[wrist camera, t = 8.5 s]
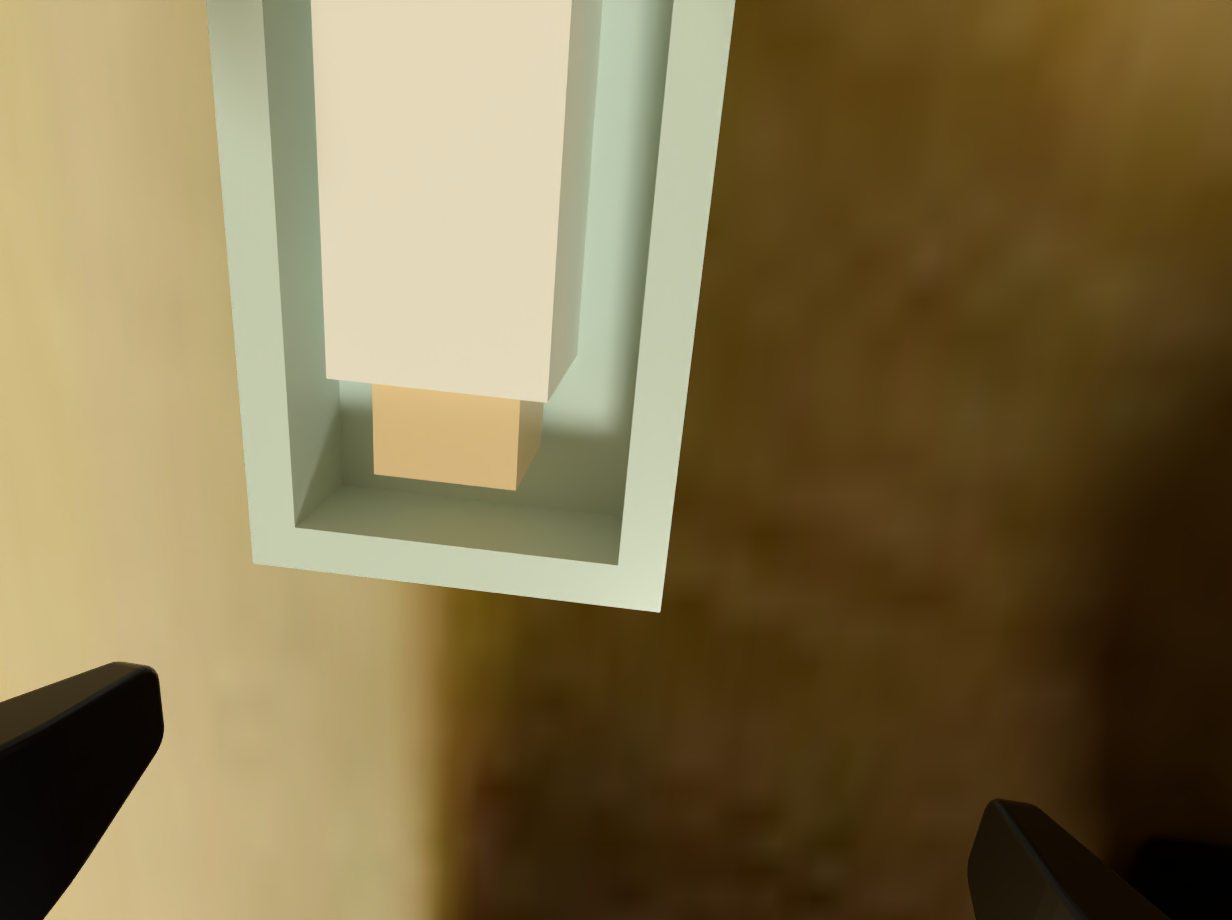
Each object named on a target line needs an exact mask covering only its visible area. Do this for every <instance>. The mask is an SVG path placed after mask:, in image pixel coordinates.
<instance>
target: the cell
mask: <svg viewBox="0 0 1232 920" xmlns="http://www.w3.org/2000/svg"><path fill="white" fill-rule="evenodd" d="M602 8H603V0H311V17H312V42H313V66H314V90H315V115H316V139H317V163H318V187H319V212H320V236H321V260H322V285H323V309H324V333H325V357H326V379H335V380H344V381H353V382H362V383H371V384H372V404H373V453H374V474H376V475H385V476H393V477H402V478H411V479H419V480H428V481H436V482H445V483H454V484H462V485H471V486H480V487H488V488H497V489H505V490H514V491H516V489H517V488H518V486H519V484H520V482H521V480H522V478H523V477H524V475H525V473H526V471H527V469H528V468H529V466H530V464H531V462H532V460H533V458H534V457H535V455H536V453H537V451H538V449H539V447H540V446H541V439H542V422H543V405H544V403H548V401H549V399H550V398H551V396H552V395H553V393H554V391H555V390H556V388H557V387H558V385H559V383H560V382H561V380H562V379H563V377H564V375H565V374H566V372H567V371H568V369H569V367H570V366H571V364H572V363H573V361H574V359H575V358H576V356H577V350H578V337H579V323H580V309H581V296H582V282H583V268H584V255H585V241H586V227H587V213H588V200H589V186H590V172H591V159H592V145H593V131H594V118H595V104H596V90H597V77H598V63H599V49H600V36H601V22H602Z"/></svg>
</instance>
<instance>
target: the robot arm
mask: <svg viewBox="0 0 1232 920" xmlns="http://www.w3.org/2000/svg"><path fill="white" fill-rule="evenodd" d="M163 733H164V721H163V712H162V703H161V694H160V685H159V678H158V674H157V673H156V671H155V670H154V669H153V668H151V667H150V666H146V665H140V664H133V663H127V662H112V663H109V664H106V665H103V666H100V667H98V668H95V669H92V670H89V671H87V672H84V673H81V674H78V675H75V676H73V677H70V678H67V679H64V680H61V681H59V682H56V683H53V684H50V685H47V686H45V687H42V688H39V689H36V690H33V691H31V692H28V693H25V694H22V695H19V696H17V697H14V698H11V699H8V700H6V701H3V702H0V920H43V919H44V918H45V917H46V915H47V914H48V913H49V911H50V910H51V909H52V908H53V906H54V905H55V904H56V902H57V901H58V900H59V898H60V897H61V896H62V894H63V893H64V892H65V890H66V889H67V888H68V886H69V885H70V884H71V882H72V881H73V879H74V878H75V877H76V875H77V874H78V872H79V871H80V869H81V868H82V866H83V865H84V864H85V862H86V861H87V859H88V858H89V856H90V855H91V853H92V851H93V850H94V848H95V847H96V845H97V844H98V842H99V841H100V839H101V838H102V836H103V834H104V833H105V831H106V830H107V828H108V827H109V825H110V824H111V822H112V821H113V819H114V818H115V816H116V814H117V813H118V811H119V810H120V808H121V807H122V805H123V804H124V802H125V801H126V799H127V797H128V796H129V794H130V793H131V791H132V790H133V788H134V787H135V785H136V784H137V782H138V780H139V779H140V777H141V776H142V774H143V773H144V771H145V770H146V768H147V767H148V765H149V764H150V762H151V760H152V759H153V757H154V756H155V754H156V753H157V751H158V749H159V747H160V744H161V742H162V738H163ZM968 883H969V889H970V894H971V898H972V903H973V908H974V913H975V917H976V920H1232V850H1231V849H1224V848H1216V847H1208V846H1201V845H1193V844H1185V843H1178V842H1170V841H1157V842H1153V843H1150V844H1149V845H1147V846H1146V847H1145V848H1144V849H1143V851H1142V852H1141V854H1140V857H1139V859H1138V861H1137V864H1136V866H1135V868H1134V871H1133V873H1132V876H1131V878H1130V880H1129V883H1127V882H1126V881H1125V880H1124V879H1123V878H1121V877H1120V876H1119V875H1118V874H1117V873H1115V872H1114V871H1113V870H1112V869H1111V868H1110V867H1108V866H1107V865H1106V864H1105V863H1104V862H1102V861H1101V860H1100V859H1099V858H1098V857H1096V856H1095V855H1094V854H1093V853H1092V852H1091V851H1089V850H1088V849H1087V848H1086V847H1085V846H1083V845H1082V844H1081V843H1080V842H1079V841H1077V840H1076V839H1075V838H1074V837H1073V836H1072V835H1070V834H1069V833H1068V832H1067V831H1066V830H1064V829H1063V828H1062V827H1061V826H1060V825H1058V824H1057V823H1056V822H1055V821H1054V820H1053V819H1051V818H1050V817H1049V816H1048V815H1047V814H1045V813H1044V812H1043V811H1042V810H1041V809H1039V808H1038V807H1037V806H1035V805H1033V804H1029V803H1024V802H1018V801H1011V800H1005V799H994V800H992V801H990V802H989V803H988V805H987V806H986V808H985V811H984V814H983V817H982V820H981V823H980V826H979V829H978V832H977V835H976V838H975V841H974V844H973V847H972V850H971V853H970V856H969V860H968Z"/></svg>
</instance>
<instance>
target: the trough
mask: <svg viewBox="0 0 1232 920" xmlns="http://www.w3.org/2000/svg"><path fill="white" fill-rule="evenodd" d="M206 7H207V19H208V31H209V43H210V55H211V67H212V78H213V90H214V102H215V114H216V126H217V138H218V150H219V162H220V174H221V185H222V197H223V209H224V221H225V233H226V245H227V257H228V269H229V281H230V293H231V304H232V316H233V328H234V340H235V352H236V364H237V376H238V388H239V400H240V411H241V423H242V435H243V447H244V459H245V471H246V483H247V495H248V507H249V519H250V530H251V542H252V554H253V563H254V564H263V565H271V566H279V567H287V568H296V569H304V570H312V571H321V572H329V573H337V574H345V575H354V576H362V577H370V578H379V579H387V580H395V581H404V582H412V583H420V584H428V585H437V586H445V587H453V588H462V589H470V590H478V591H486V592H495V593H503V594H511V595H520V596H528V597H536V598H544V599H553V600H561V601H569V602H578V603H586V604H594V605H602V606H611V607H619V608H627V609H636V610H644V611H652V612H660V610H661V602H662V594H663V585H664V577H665V569H666V561H667V553H668V545H669V537H670V528H671V520H672V512H673V504H674V496H675V488H676V480H677V471H678V463H679V455H680V447H681V439H682V431H683V423H684V414H685V406H686V398H687V390H688V382H689V374H690V365H691V357H692V349H693V341H694V333H695V325H696V317H697V308H698V300H699V292H700V284H701V276H702V268H703V260H704V251H705V243H706V235H707V227H708V219H709V211H710V203H711V194H712V186H713V178H714V170H715V162H716V154H717V145H718V137H719V129H720V121H721V113H722V105H723V97H724V88H725V80H726V72H727V64H728V56H729V48H730V40H731V31H732V23H733V15H734V7H735V0H603V8H602V22H601V36H600V49H599V63H598V77H597V90H596V104H595V118H594V131H593V145H592V159H591V172H590V186H589V200H588V213H587V227H586V241H585V255H584V268H583V282H582V296H581V309H580V323H579V337H578V350H577V356H576V358H575V359H574V361H573V363H572V364H571V366H570V367H569V369H568V371H567V372H566V374H565V375H564V377H563V379H562V380H561V382H560V383H559V385H558V387H557V388H556V390H555V391H554V393H553V395H552V396H551V398H550V399H549V401H548V403H544V405H543V422H542V439H541V446H540V447H539V449H538V451H537V453H536V455H535V457H534V458H533V460H532V462H531V464H530V466H529V468H528V469H527V471H526V473H525V475H524V477H523V478H522V480H521V482H520V484H519V486H518V488H517V489H516V491H514V490H505V489H497V488H488V487H480V486H471V485H462V484H454V483H445V482H436V481H428V480H419V479H411V478H402V477H393V476H385V475H376V474H374V453H373V404H372V384H371V383H362V382H353V381H344V380H335V379H326V357H325V333H324V309H323V285H322V260H321V236H320V212H319V187H318V163H317V139H316V115H315V90H314V66H313V42H312V17H311V0H206Z"/></svg>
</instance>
